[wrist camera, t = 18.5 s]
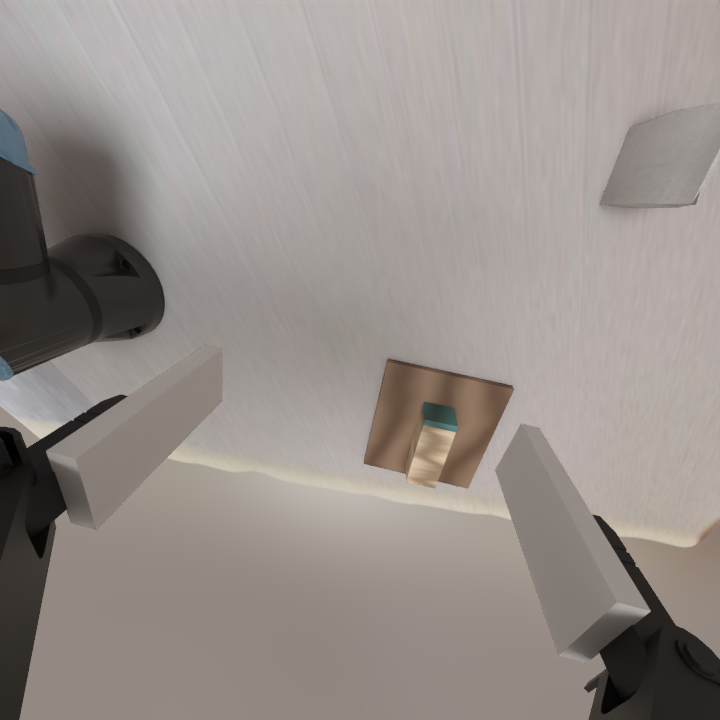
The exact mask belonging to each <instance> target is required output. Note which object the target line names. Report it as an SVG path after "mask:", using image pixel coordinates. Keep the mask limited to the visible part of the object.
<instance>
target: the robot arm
mask: <svg viewBox="0 0 720 720" xmlns="http://www.w3.org/2000/svg"><path fill="white" fill-rule="evenodd" d="M33 175H35V171H34V169H33V168H32V167H31V165H30V161H29V157H28V153H27V149H26V145H25V141H24V137H23V134H22V131H21V129H20V127H19V126H18V124H17V123H16V122H15V121H14V120H13V119H12V118H11V117H10V116H9V115H8V114H7V113H5V112H4V111H3V110H1V109H0V381H4V380H8V379H10V378H11V377H13V376H14V375H16V374H19V373H21V372H23V371H26V370H28V369H31V368H33V367H35V366H38V365H40V364H42V363H45V362H47V361H49V360H52V359H54V358H56V357H59V356H61V355H64V354H66V353H68V352H71V351H73V350H76V349H78V348H80V347H82V346H85V345H87V344H90V343H93V342H104V341H117V340H128V339H133V338H137V337H139V336H141V335H143V334H146V333H148V332H150V331H151V330H153V329H154V328H155V327H156V326H157V325H158V324H159V322H160V320H161V318H162V315H163V310H164V298H163V292H162V289H161V286H160V283H159V280H158V278H157V276H156V274H155V273H154V271H153V269H152V268H151V266H150V265H149V264H148V262H147V261H146V260H145V259H144V258H143V256H142V255H141V254H140V253H138V252H137V251H136V250H135V249H134V248H133V247H131V246H130V245H128V244H127V243H125V242H124V241H122V240H120V239H118V238H115V237H113V236H109V235H105V234H86V235H78V236H74V237H71V238H68V239H66V240H64V241H62V242H61V243H59V244H57V245H55V246H53V247H51V248H49V249H47V247H46V242H45V236H44V231H43V225H42V220H41V214H40V209H39V204H38V198H37V193H36V187H35V182H34V176H33ZM221 401H222V349H220V348H216V347H212V346H208V345H204V346H203V347H201V348H200V349H198V350H197V351H195V352H194V353H192V354H191V355H189V356H188V357H186V358H185V359H183V360H182V361H180V362H179V363H177V364H176V365H174V366H173V367H171V368H170V369H168V370H167V371H165V372H164V373H162V374H161V375H159V376H158V377H156V378H155V379H153V380H152V381H150V382H149V383H147V384H146V385H144V386H143V387H141V388H140V389H138V390H137V391H135V392H134V393H132V394H131V395H129V396H125V395H118V396H115V397H112V398H110V399H107V400H104V401H102V402H100V403H98V404H97V405H95V406H94V407H92V408H90V409H89V410H87V412H86V413H82V414H81V415H79V416H78V417H76V418H74V421H70V422H68V423H66V424H65V425H63V426H62V427H60V428H58V429H57V430H55V431H54V432H52V433H50V434H49V435H47V436H46V437H44V438H42V439H41V440H39V441H38V442H36V443H34V444H33V445H31V446H30V447H28V448H26V445H25V443H24V440H23V438H22V435H21V433H20V432H19V431H17V430H16V429H15V428H8V427H0V720H19V718H20V713H21V707H22V703H23V698H24V692H25V687H26V682H27V677H28V671H29V666H30V661H31V656H32V651H33V645H34V640H35V635H36V630H37V625H38V619H39V614H40V608H41V603H42V598H43V593H44V588H45V583H46V577H47V572H48V567H49V562H50V557H51V552H52V546H53V541H54V536H55V530H56V525H55V519H56V518H57V517H58V516H59V515H60V514H62V513H63V512H64V511H65V510H67V513H68V515H69V518H70V521H71V523H73V524H77V525H80V526H84V527H88V528H92V529H95V530H97V529H98V528H99V527H100V526H101V525H102V524H103V523H104V522H105V521H106V520H107V519H108V518H109V517H110V516H111V515H112V514H113V513H114V512H115V510H116V509H117V508H118V507H119V506H120V505H121V504H122V503H123V502H124V501H125V500H126V499H127V498H128V497H129V496H130V495H131V494H132V493H133V492H134V491H135V490H136V489H137V488H138V487H139V486H140V485H141V484H142V483H143V482H144V481H145V480H146V479H147V478H148V476H150V475H151V473H152V472H153V471H154V470H155V469H156V468H157V467H158V466H159V465H160V464H161V463H162V462H163V461H164V460H165V459H166V458H167V457H168V456H169V455H170V454H171V453H172V452H173V451H174V450H175V449H176V448H177V447H178V446H179V445H180V444H181V443H182V442H183V441H184V440H185V439H186V437H187V436H188V435H189V434H190V433H191V432H192V431H193V430H194V429H195V428H196V427H197V426H198V425H199V424H200V423H201V422H202V421H203V420H204V419H205V418H206V417H207V416H208V415H209V414H210V413H211V412H212V411H213V410H214V409H215V408H216V407H217V406H218V405H219V404H220V402H221ZM495 471H496V474H497V477H498V480H499V483H500V486H501V489H502V492H503V495H504V498H505V500H506V503H507V506H508V509H509V512H510V515H511V518H512V521H513V524H514V527H515V530H516V533H517V536H518V539H519V542H520V544H521V547H522V550H523V553H524V556H525V559H526V562H527V565H528V568H529V571H530V574H531V577H532V579H533V583H534V585H535V589H536V591H537V594H538V597H539V600H540V603H541V606H542V609H543V612H544V614H545V618H546V621H547V624H548V627H549V629H550V633H551V635H552V638H553V641H554V644H555V647H556V650H557V653H558V655H559V656H562V657H566V658H570V659H574V660H577V661H581V662H585V663H587V662H589V661H590V660H591V659H592V658H594V657H595V656H596V655H597V654H599V653H600V655H601V657H602V659H603V661H604V664H605V666H606V668H607V669H605V670H604V671H603V672H601V673H600V674H599V675H597V676H596V677H595V678H593V679H592V680H591V681H589V682H588V683H587V685H586V686H585V687H584V689H586V690H587V691H588V692H590V691H592V690H593V689H594V688H597V689H596V693H595V697H594V701H593V705H592V709H591V713H590V717H589V720H720V659H719V658H718V657H717V656H716V655H715V654H714V652H713V651H712V650H711V649H710V648H709V647H707V646H706V645H705V644H704V643H703V642H702V641H701V640H699V639H698V638H697V637H696V636H694V635H693V634H691V633H689V632H688V631H686V630H685V629H683V628H680V627H678V626H676V625H675V623H674V622H673V620H672V619H671V617H670V616H669V614H668V613H667V611H666V610H665V608H664V607H663V605H662V604H661V602H660V600H659V599H658V597H657V596H656V594H655V593H654V591H653V590H652V588H651V587H650V585H649V584H648V582H647V580H646V579H645V577H644V576H643V574H642V573H641V571H640V569H639V568H638V567H636V566H635V562H634V560H633V559H632V557H631V556H630V554H629V553H627V552H626V548H625V546H624V545H623V543H622V542H621V540H620V539H619V537H618V536H617V534H616V532H615V531H614V530H613V529H612V528H611V527H610V526H609V525H608V524H607V523H606V522H605V521H604V520H603V519H602V518H601V517H600V516H597V515H593V514H591V512H590V510H589V509H588V507H587V505H586V504H585V502H584V501H583V499H582V497H581V496H580V494H579V492H578V491H577V489H576V487H575V486H574V484H573V482H572V481H571V479H570V478H569V476H568V474H567V473H566V471H565V469H564V468H563V466H562V464H561V463H560V461H559V460H558V458H557V456H556V455H555V453H554V451H553V450H552V448H551V446H550V445H549V443H548V441H547V440H546V438H545V437H544V435H543V433H542V432H541V430H540V428H537V427H533V426H529V425H525V424H521V425H520V427H519V428H518V430H517V432H516V434H515V435H514V437H513V439H512V441H511V443H510V444H509V446H508V448H507V450H506V452H505V453H504V455H503V457H502V459H501V461H500V462H499V464H498V466H497V468H496V469H495Z"/></svg>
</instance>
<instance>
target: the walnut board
mask: <svg viewBox="0 0 720 720" xmlns="http://www.w3.org/2000/svg"><path fill="white" fill-rule="evenodd" d="M513 391H514V388H513V387H512V386H511V385H506V384H501V383H497V382H492V381H488V380H483V379H478V378H474V377H469V376H465V375H460V374H455V373H451V372H446V371H442V370H437V369H432V368H428V367H423V366H419V365H414V364H409V363H405V362H400V361H396V360H391V359H388V361H387V366H386V370H385V374H384V378H383V383H382V387H381V391H380V395H379V400H378V404H377V408H376V412H375V417H374V421H373V425H372V429H371V434H370V438H369V442H368V446H367V451H366V455H365V459H364V464H367V465H371V466H376V467H380V468H384V469H388V470H392V471H397V472H401V473H405V474H406V460H407V457H408V453H409V450H410V447H411V443H412V440H413V436H414V433H415V430H416V426H417V423H418V420H419V416H420V413H421V410H422V406H423V403H424V402H429V403H434V404H438V405H443V406H448V407H452V408H454V410H455V415H456V419H457V423H458V429H457V431H456V434H455V437H454V439H453V442H452V445H451V447H450V450H449V453H448V455H447V458H446V461H445V463H444V466H443V468H442V471H441V474H440V476H439V479H438V481H439V482H443V483H447V484H451V485H455V486H460V487H464V488H468V487H469V485H470V483H471V481H472V478H473V476H474V474H475V472H476V470H477V468H478V466H479V463H480V461H481V459H482V457H483V455H484V453H485V451H486V448H487V446H488V444H489V442H490V440H491V438H492V436H493V433H494V431H495V429H496V427H497V425H498V423H499V421H500V418H501V416H502V414H503V412H504V410H505V408H506V406H507V403H508V401H509V399H510V397H511V395H512V393H513Z"/></svg>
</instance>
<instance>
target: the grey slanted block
mask: <svg viewBox="0 0 720 720" xmlns="http://www.w3.org/2000/svg"><path fill="white" fill-rule="evenodd" d="M719 159H720V102H718V103H713V104H708V105H703V106H697V107H692V108H687V109H682V110H677V111H673V112H671V113H668V114H665V115H663V116H660V117H658V118H655V119H652V120H650V121H647V122H644V123H642V124H639V125H637V126H634V127H631V128H629V131H628V133H627V136H626V138H625V141H624V143H623V146H622V149H621V151H620V154H619V156H618V159H617V161H616V164H615V166H614V169H613V171H612V174H611V176H610V179H609V181H608V184H607V186H606V189H605V191H604V194H603V196H602V199H601V202H600V205H610V206H620V207H630V208H673V207H682V206H687V205H696V204H697V202H698V200H699V198H700V196H701V194H702V192H703V190H704V188H705V186H706V184H707V182H708V181H709V179H710V177H711V175H712V173H713V171H714V169H715V167H716V165H717V163H718V161H719Z"/></svg>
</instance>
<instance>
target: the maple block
mask: <svg viewBox="0 0 720 720" xmlns="http://www.w3.org/2000/svg"><path fill="white" fill-rule="evenodd" d="M457 429H458V423H457V419H456V415H455V410H454V408H452V407H448V406H443V405H438V404H434V403H429V402H424V403H423V406H422V410H421V413H420V416H419V420H418V423H417V426H416V430H415V433H414V436H413V440H412V443H411V447H410V450H409V453H408V457H407V460H406V482H409V483H414V484H418V485H423V486H427V487H431V488H435V487H436V484H437V482H438V479H439V476H440V474H441V471H442V468H443V466H444V463H445V461H446V458H447V455H448V453H449V450H450V447H451V445H452V442H453V439H454V437H455V434H456V431H457Z"/></svg>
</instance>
